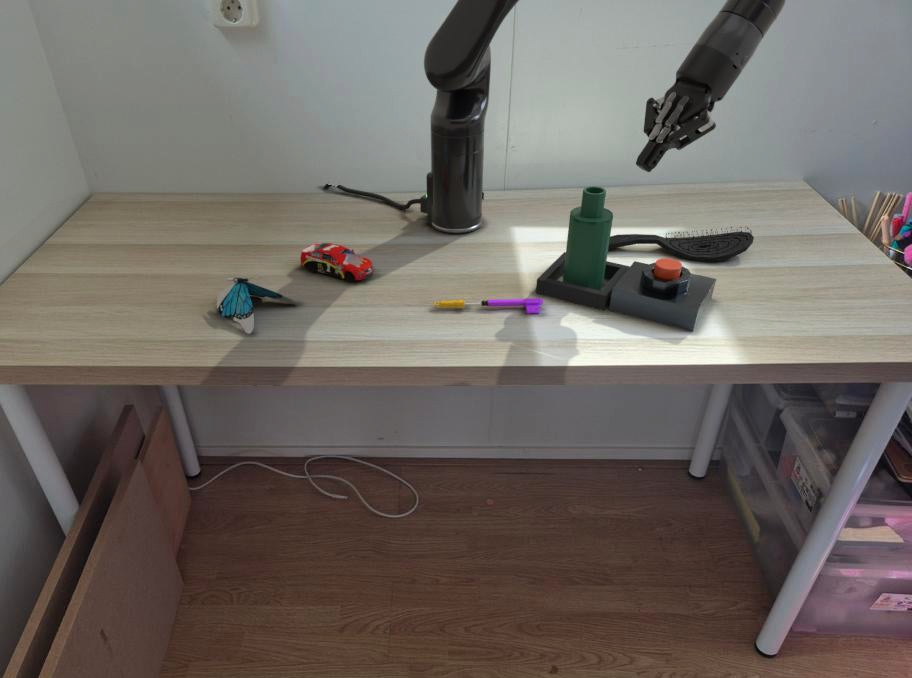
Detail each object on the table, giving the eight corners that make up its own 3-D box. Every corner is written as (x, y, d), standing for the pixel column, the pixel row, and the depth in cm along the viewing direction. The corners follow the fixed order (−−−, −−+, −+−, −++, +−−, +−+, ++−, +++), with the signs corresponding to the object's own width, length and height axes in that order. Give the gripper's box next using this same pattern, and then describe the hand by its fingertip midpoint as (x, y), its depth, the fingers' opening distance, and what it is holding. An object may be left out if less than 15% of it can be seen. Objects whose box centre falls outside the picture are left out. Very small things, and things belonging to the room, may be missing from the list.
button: (650, 277, 100) (652, 265, 99) (657, 266, 103) (659, 256, 102) (675, 282, 99) (678, 271, 98) (682, 272, 101) (685, 261, 100)
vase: (556, 290, 108) (566, 193, 99) (571, 274, 112) (582, 180, 103) (593, 300, 106) (607, 201, 97) (607, 283, 110) (622, 186, 101)
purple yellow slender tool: (542, 302, 105) (434, 304, 106) (542, 296, 104) (434, 298, 105) (543, 314, 103) (434, 316, 104) (544, 309, 102) (434, 311, 103)
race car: (380, 273, 116) (378, 250, 113) (361, 286, 112) (359, 264, 110) (317, 255, 122) (314, 234, 119) (297, 268, 118) (294, 246, 116)
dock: (535, 293, 108) (536, 279, 107) (562, 265, 115) (564, 251, 114) (603, 311, 103) (606, 295, 102) (627, 280, 110) (630, 266, 109)
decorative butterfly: (244, 264, 111) (286, 264, 105) (257, 302, 114) (299, 304, 108) (194, 290, 104) (236, 292, 98) (210, 329, 107) (252, 334, 101)
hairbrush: (593, 222, 122) (748, 219, 117) (591, 242, 124) (743, 240, 119) (596, 243, 115) (760, 241, 111) (594, 263, 117) (755, 262, 113)
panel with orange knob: (608, 310, 103) (613, 277, 100) (630, 282, 110) (636, 250, 106) (692, 332, 98) (701, 297, 94) (710, 301, 104) (719, 267, 101)
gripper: (671, 35, 101) (599, 144, 106) (740, 49, 91) (657, 169, 96) (699, 64, 105) (628, 168, 110) (768, 80, 95) (687, 193, 100)
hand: (642, 168), depth 103 cm, fingers closed
